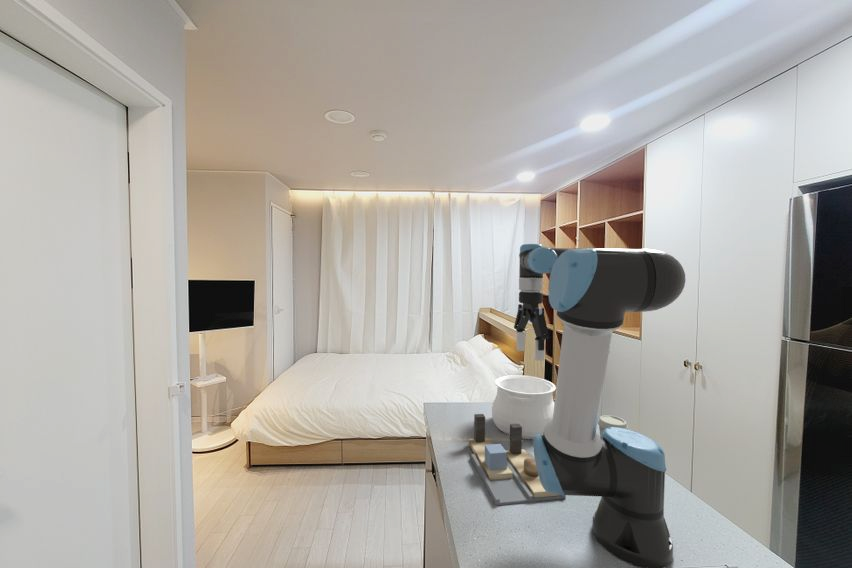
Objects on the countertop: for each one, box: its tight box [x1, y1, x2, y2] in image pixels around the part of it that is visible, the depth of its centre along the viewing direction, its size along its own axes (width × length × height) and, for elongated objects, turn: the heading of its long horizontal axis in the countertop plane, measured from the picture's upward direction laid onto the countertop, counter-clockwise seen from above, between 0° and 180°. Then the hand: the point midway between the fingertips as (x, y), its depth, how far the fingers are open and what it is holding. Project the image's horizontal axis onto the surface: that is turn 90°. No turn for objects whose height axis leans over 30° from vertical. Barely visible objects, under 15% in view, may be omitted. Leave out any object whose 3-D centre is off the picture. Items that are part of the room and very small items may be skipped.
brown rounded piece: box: [524, 458, 539, 477], centre depth 97 cm, size 4×4×3 cm
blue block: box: [485, 443, 507, 471], centre depth 100 cm, size 5×5×5 cm
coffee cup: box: [597, 414, 629, 437], centre depth 110 cm, size 8×8×12 cm
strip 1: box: [468, 413, 513, 480], centre depth 106 cm, size 21×7×10 cm, turn 9°
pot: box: [491, 374, 557, 440], centre depth 130 cm, size 26×24×17 cm
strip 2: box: [506, 424, 558, 498], centre depth 99 cm, size 21×7×10 cm, turn 9°
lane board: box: [470, 449, 567, 506], centre depth 98 cm, size 22×19×2 cm
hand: (529, 355), depth 113 cm, fingers open, 13 cm apart
